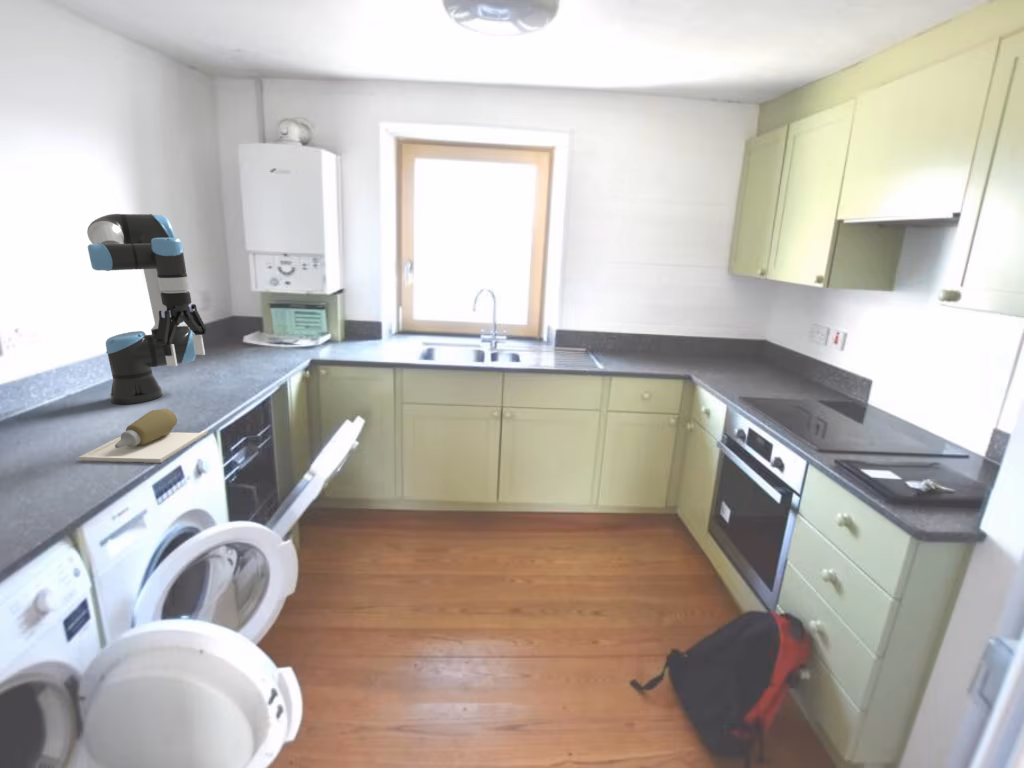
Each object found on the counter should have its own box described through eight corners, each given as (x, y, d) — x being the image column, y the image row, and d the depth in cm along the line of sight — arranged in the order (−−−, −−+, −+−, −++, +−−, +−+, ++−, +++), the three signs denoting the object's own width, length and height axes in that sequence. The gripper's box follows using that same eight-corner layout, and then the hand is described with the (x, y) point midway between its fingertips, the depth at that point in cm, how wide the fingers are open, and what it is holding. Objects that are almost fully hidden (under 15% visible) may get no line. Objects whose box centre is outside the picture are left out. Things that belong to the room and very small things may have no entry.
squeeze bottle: (159, 400, 153) (106, 427, 136) (184, 414, 153) (133, 443, 137) (153, 420, 156) (100, 449, 140) (177, 434, 157) (127, 464, 140)
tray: (135, 432, 156) (135, 429, 155) (207, 434, 155) (206, 430, 154) (79, 461, 136) (78, 457, 136) (161, 463, 136) (160, 458, 135)
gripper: (189, 286, 168) (199, 350, 174) (131, 296, 144) (146, 370, 150) (212, 286, 167) (221, 350, 174) (158, 297, 144) (172, 371, 150)
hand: (187, 360), depth 162 cm, fingers open, 13 cm apart
